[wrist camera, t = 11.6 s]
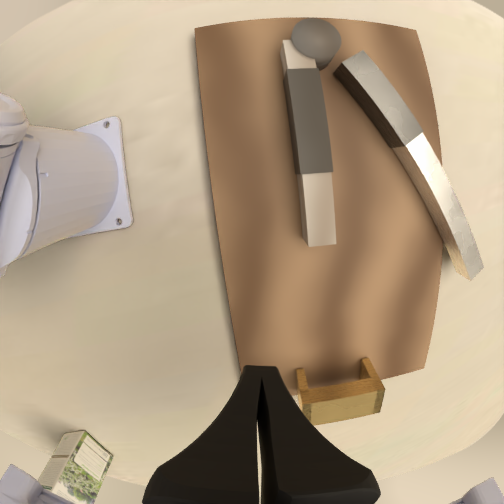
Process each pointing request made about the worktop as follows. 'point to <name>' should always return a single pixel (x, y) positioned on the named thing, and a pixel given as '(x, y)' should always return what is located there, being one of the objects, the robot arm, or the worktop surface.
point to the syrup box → (76, 468)
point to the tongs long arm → (412, 156)
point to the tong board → (365, 204)
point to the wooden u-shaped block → (341, 397)
